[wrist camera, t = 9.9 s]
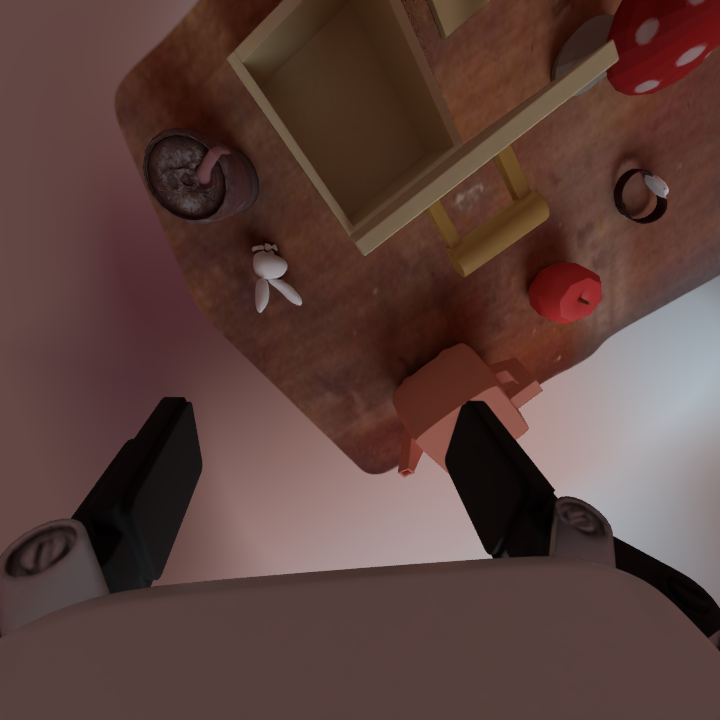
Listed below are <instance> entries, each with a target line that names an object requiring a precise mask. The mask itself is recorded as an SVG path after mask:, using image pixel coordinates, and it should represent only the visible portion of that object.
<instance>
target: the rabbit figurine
mask: <svg viewBox="0 0 720 720" xmlns="http://www.w3.org/2000/svg"><path fill="white" fill-rule="evenodd" d="M264 248H265V250H267V251H269V250H270V249H272V248H273V249H274V250H276V251H277V247H276V245H275V244H274V245H273V246H271V245H269V244H268V243H265V245H264V246H263V245H259V246H253V247H252V251H253V252H254V251H255V250H263V249H264ZM253 267H254V270H255V272H256V274H257V275H258V276H260V277H261V278H260V279H259V280H258V281H257V283H256V290H255V293H256V294H255V298H256V299H255V303H256V308H257V311H258V312H259V313H261V312H262V311H263V310H264V308H265V307H266V305H267V303H268V299H269V288H268V282H267V281H266V280H265V279H268V280H269V282H270V283H271V284H272V285H273V286H274V287H276V288H277V289H278V290H279V291H280V292H281V293H282V294H283V295H284V296H285V297H286V298H287V299H288V300H289V301H291V302H292V303H294V304H296V305H301V304H302V300H301V297H300V296H299V295H298V293H297V292H296V291H295V290H294V289H293V288H292V287H291V286H290V285H288V284H287V283H285V282H284V279H280V280H278V279H276V278H279V277H281V276H282V275H283V274H284V273H285V272H286V270H287V263H286V261H285V260H284V259H283V258H281V257H279V256H276V255H274V252H273V251H272V250H271V251H270V252H265V251H264V250H263V251H261V252H258V253H256V254H255V255H254V258H253Z"/></svg>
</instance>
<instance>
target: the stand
mask: <svg viewBox="0 0 720 720" xmlns="http://www.w3.org/2000/svg"><path fill="white" fill-rule="evenodd" d="M427 1H428V4H429V6H430V9H431V12H432V14H433V17H434V19H435V22H436V24H437V27H438V30H439V32H440V35H441V37H442V40H445V39H446V38H447V37H448V36H449V35H451V34H452V33H453V32H454V31H455V30H457V29H458V28H459V27H460V26H461V25H462V24H464V23H465V22H466V21H467V20H468V19H469V18H471V17H472V16H473V15H474V14H475V13H477V12H478V11H479V10H480V9H481V8H482V7H484V6H485V5H486V4H487V3H488V2H489V1H491V0H427Z"/></svg>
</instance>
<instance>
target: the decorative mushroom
mask: <svg viewBox="0 0 720 720" xmlns="http://www.w3.org/2000/svg"><path fill="white" fill-rule="evenodd" d="M610 40H614V43H615V46H616V50H617V53H618V56H619V60H618V61H617V62H616V63H614V64H613V65H612V66H611V67H609V68H608V69H607V70H605V71H604V72H603V73H602V74H600V75H599V76H598V77H596V78H595V79H594V80H592V81H591V82H590V83H589V84H587V85H586V86H585V87H583V88H582V89H581V90H580V91H578V92H577V93H576V94H574V95H573V96H577V95H580V94H582V93H584V92H586V91H588V90H589V89H590V88H592V87H593V86H594V85H595V84H596V83H598V82H599V81H600V80H601V79H602V78H604V77H605V76H607V78H608V80H609V82H610V83H611V84H612V86H613V87H614V88H615V90H616V91H619V92H621V93H624V94H626V95H643V94H652V93H654V92H656V91H659V90H661V89H663V88H665V87H667V86H669V85H671V84H673V83H675V82H676V81H678V80H680V79H682V78H683V77H685V76H686V75H687V74H688V73H690V72H691V71H692V70H694V69H695V68H696V67H697V66H699V65H700V64H701V63H702V62H703V61H704V60H705V59H706V57H707V56H708V55H709V54H710V53H711V52H712V51H713V50H714V49H715V48H716V47H717V46H718V45H720V0H622V2H621V4H620V6H619V7H618V9H617V11H616V13H615V15H607V14H605V15H598V16H595V17H593V18H592V19H590V20H588V21H586V22H585V23H584V24H583V25H582V26H580V27H579V28H578V29H577V30H576V31H575V32H574V33H573V34H572V36H571V37H570V38H569V39H568V40H567V41H566V43H565V44H564V45H563V47H562V48H561V49H560V51H559V53H558V55H557V57H556V59H555V62H554V65H553V68H552V74H551V82H552V81H554V80H555V79H557V78H558V77H559V76H561V75H562V74H564V73H565V72H566V71H568V70H569V69H571V68H572V67H573V66H575V65H576V64H578V63H579V62H580V61H582V60H583V59H585V58H586V57H588V56H589V55H590V54H592V53H593V52H595V51H596V50H597V49H599V48H600V47H602V46H603V45H604V44H606V43H607V42H609V41H610Z"/></svg>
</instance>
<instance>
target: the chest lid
mask: <svg viewBox="0 0 720 720" xmlns="http://www.w3.org/2000/svg"><path fill="white" fill-rule="evenodd" d="M618 60H619V56H618V53H617V50H616V46H615V43H614V40H610V41H609V42H607V43H606V44H604V45H603V46H602V47H600V48H599V49H597V50H596V51H595V52H593V53H592V54H590V55H589V56H588V57H586V58H585V59H583V60H582V61H580V62H579V63H578V64H576V65H575V66H573V67H572V68H571V69H569V70H568V71H566V72H565V73H564V74H562V75H561V76H559V77H558V78H557V79H555V80H554V81H552V82H551V83H550V84H548V85H547V86H545V87H544V88H543V89H541V90H540V91H538V92H537V93H536V94H534V95H533V96H531V97H530V98H529V99H527V100H526V101H524V102H523V103H522V104H520V105H519V106H517V107H516V108H515V109H513V110H512V111H510V112H509V113H508V114H506V115H505V116H503V117H502V118H501V119H499V120H498V121H496V122H495V123H494V124H492V125H491V126H489V127H488V128H487V129H485V130H484V131H482V132H481V133H480V134H478V135H477V136H475V137H474V138H473V139H471V140H470V141H468V142H467V143H465V144H464V145H463V146H462V147H460V148H459V149H458V150H457V151H455V152H454V153H453V154H452V155H450V156H449V157H448V158H447V159H445V160H444V161H443V162H442V163H440V164H439V165H438V166H437V167H435V168H434V169H433V170H432V171H430V172H429V173H428V174H427V175H425V176H424V177H423V178H422V179H420V180H419V181H418V182H417V183H415V184H414V185H413V186H411V187H410V188H409V189H408V190H406V191H405V192H404V193H403V194H401V195H400V196H399V197H398V198H396V199H395V200H394V201H393V202H391V203H390V204H389V205H388V206H386V207H385V208H384V209H383V210H381V211H380V212H379V213H378V214H376V215H375V216H374V217H373V218H371V219H370V220H369V221H368V222H366V223H365V224H364V225H363V226H361V227H360V228H359V229H358V230H356V231H355V232H354V233H352V234H351V235H350V237H351V239H352V240H353V242H354V243H355V244H356V246H357V247H358V248H359V250H360V251H361V253H362V254H363V255H364V256H366V255H367V254H368V253H370V252H371V251H372V250H374V249H375V248H376V247H378V246H379V245H380V244H381V243H383V242H384V241H385V240H387V239H388V238H389V237H390V236H392V235H393V234H394V233H396V232H397V231H398V230H400V229H401V228H402V227H403V226H405V225H406V224H407V223H409V222H410V221H411V220H412V219H414V218H415V217H416V216H418V215H419V214H420V213H422V212H423V211H424V210H426V212H427V213H428V215H429V217H430V219H431V220H432V222H433V224H434V225H435V227H436V229H437V231H438V232H439V234H440V236H441V237H442V239H443V241H444V242H445V244H446V246H447V248H448V249H447V251H446V253H447V256H448V259H449V261H450V262H451V264H452V266H453V267H454V268H455V270H456V271H457V272H458V273H459V274H460V275H461V276H463V277H466V276H467V275H469V274H470V273H472V272H473V271H474V270H476V269H477V268H479V267H480V266H481V265H483V264H484V263H486V262H487V261H489V260H490V259H491V258H493V257H494V256H496V255H497V254H499V253H500V252H501V251H503V250H504V249H506V248H507V247H508V246H510V245H511V244H513V243H514V242H516V241H517V240H518V239H520V238H521V237H523V236H524V235H526V234H527V233H528V232H530V231H531V230H533V229H534V228H535V227H537V226H538V225H540V224H541V223H543V222H544V221H545V220H547V218H548V217H549V207H548V204H547V202H546V200H545V199H544V197H543V196H542V195H541V194H540V193H539V192H537V191H535V190H531V189H530V187H529V184H528V182H527V180H526V178H525V176H524V173H523V171H522V169H521V167H520V165H519V162H518V160H517V158H516V156H515V153H514V151H513V149H512V147H511V145H510V144H511V143H512V142H513V141H515V140H516V139H517V138H519V137H520V136H521V135H523V134H524V133H525V132H526V131H528V130H529V129H530V128H532V127H533V126H534V125H535V124H537V123H538V122H539V121H541V120H542V119H543V118H545V117H546V116H547V115H548V114H550V113H551V112H552V111H554V110H555V109H556V108H558V107H559V106H560V105H561V104H563V103H564V102H565V101H567V100H568V99H569V98H570V97H572V96H573V95H574V94H576V93H577V92H578V91H580V90H581V89H582V88H583V87H585V86H586V85H587V84H589V83H590V82H591V81H592V80H594V79H595V78H596V77H598V76H599V75H600V74H602V73H603V72H604V71H605V70H607V69H608V68H609V67H611V66H612V65H613V64H614V63H616V62H617V61H618ZM491 158H493V159H494V161H495V163H496V165H497V167H498V170H499V172H500V174H501V176H502V178H503V180H504V182H505V184H506V186H507V188H508V190H509V193H510V195H511V197H512V199H513V202H511V203H510V204H509V205H507V206H506V207H505V208H503V209H502V210H501V211H499V212H498V213H496V214H495V215H494V216H492V217H491V218H490V219H488V220H487V221H486V222H484V223H483V224H481V225H480V226H479V227H477V228H476V229H475V230H473V231H472V232H471V233H469V234H468V235H466V236H465V237H464V238H462V239H461V237H460V236H459V234H458V232H457V230H456V228H455V227H454V225H453V223H452V221H451V220H450V218H449V216H448V214H447V212H446V211H445V209H444V207H443V205H442V204H441V202H440V200H439V199H440V198H441V197H442V196H444V195H445V194H446V193H447V192H449V191H450V190H451V189H453V188H454V187H455V186H457V185H458V184H459V183H460V182H462V181H463V180H464V179H466V178H467V177H468V176H469V175H471V174H472V173H473V172H475V171H476V170H477V169H479V168H480V167H481V166H482V165H484V164H485V163H486V162H488V161H489V160H490V159H491Z"/></svg>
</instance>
